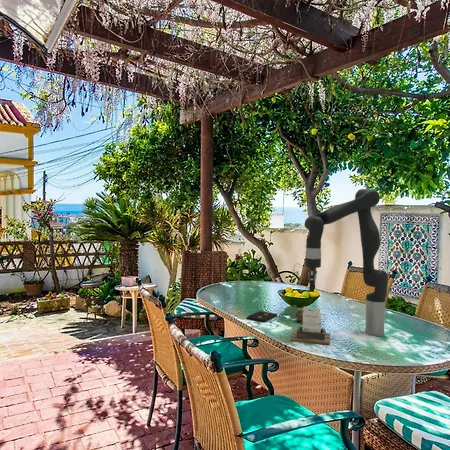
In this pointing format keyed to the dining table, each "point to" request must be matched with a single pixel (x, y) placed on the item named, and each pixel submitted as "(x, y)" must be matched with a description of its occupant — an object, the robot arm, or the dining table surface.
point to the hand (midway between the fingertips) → (312, 290)
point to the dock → (311, 337)
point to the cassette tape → (261, 316)
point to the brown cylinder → (299, 315)
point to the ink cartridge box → (311, 320)
